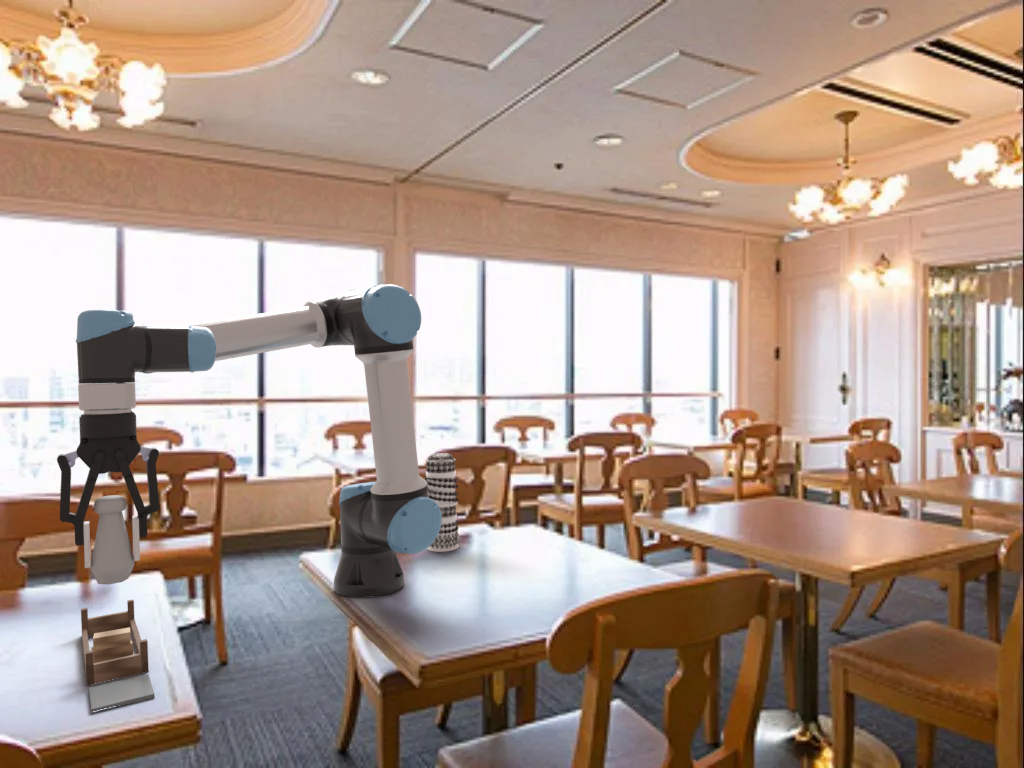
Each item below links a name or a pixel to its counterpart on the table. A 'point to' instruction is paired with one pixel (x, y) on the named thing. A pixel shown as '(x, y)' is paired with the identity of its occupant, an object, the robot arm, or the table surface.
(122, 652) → the offcut
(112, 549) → the salt shaker
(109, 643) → the offcut
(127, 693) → the coaster
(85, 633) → the open rectangular wooden frame
